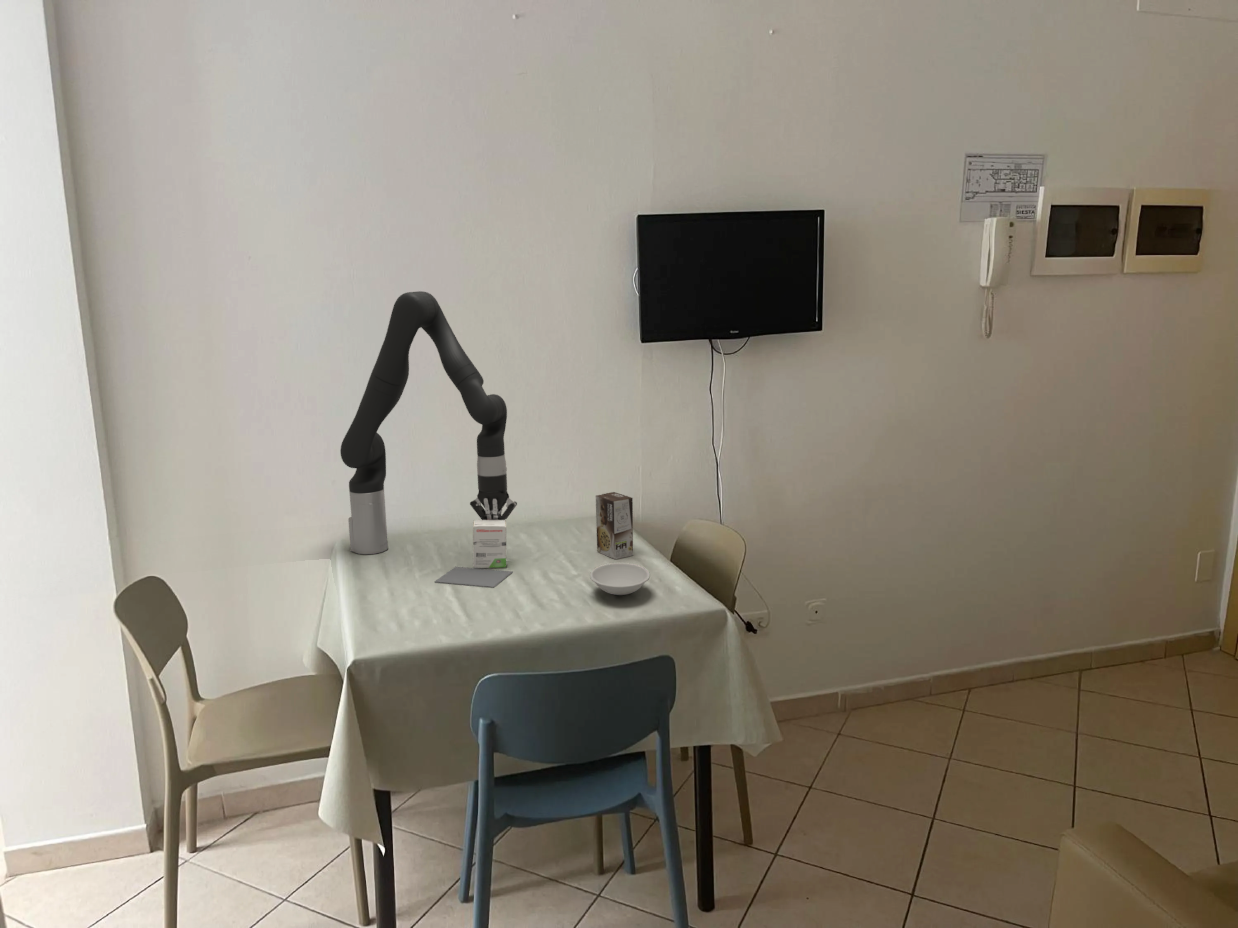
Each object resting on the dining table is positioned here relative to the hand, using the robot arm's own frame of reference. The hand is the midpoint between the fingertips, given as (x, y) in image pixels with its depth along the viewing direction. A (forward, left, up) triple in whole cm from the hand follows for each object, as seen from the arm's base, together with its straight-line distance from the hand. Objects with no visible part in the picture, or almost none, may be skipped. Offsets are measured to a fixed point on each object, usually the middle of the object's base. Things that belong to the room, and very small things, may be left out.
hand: (495, 535), depth 243 cm
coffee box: (+29, +14, -7) cm, 33 cm away
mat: (0, -13, -7) cm, 15 cm away
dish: (+39, -16, -7) cm, 42 cm away
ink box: (0, -4, -7) cm, 8 cm away
